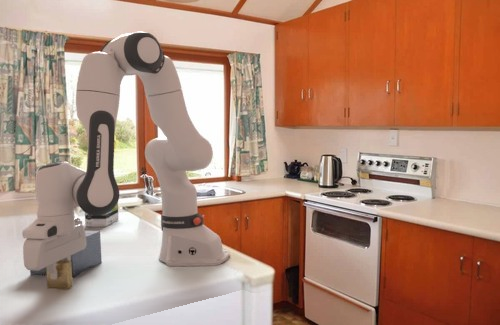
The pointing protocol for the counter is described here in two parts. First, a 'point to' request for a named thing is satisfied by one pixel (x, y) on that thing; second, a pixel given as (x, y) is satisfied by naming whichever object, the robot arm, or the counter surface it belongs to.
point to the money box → (82, 256)
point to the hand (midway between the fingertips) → (59, 276)
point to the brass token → (61, 276)
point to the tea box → (102, 218)
